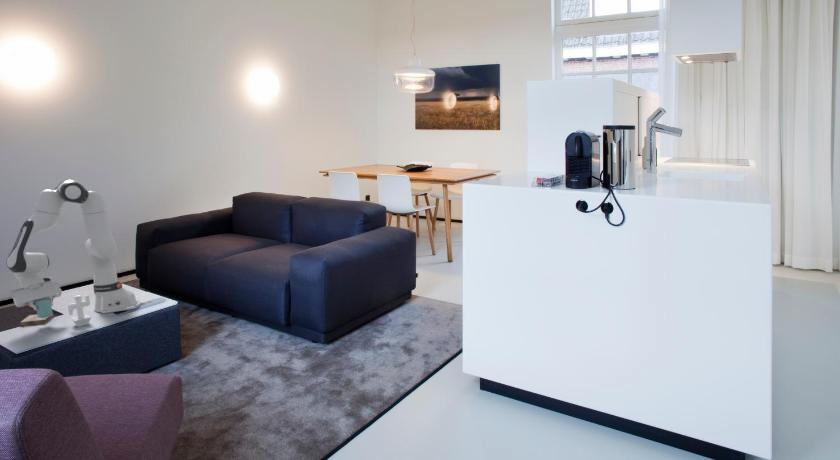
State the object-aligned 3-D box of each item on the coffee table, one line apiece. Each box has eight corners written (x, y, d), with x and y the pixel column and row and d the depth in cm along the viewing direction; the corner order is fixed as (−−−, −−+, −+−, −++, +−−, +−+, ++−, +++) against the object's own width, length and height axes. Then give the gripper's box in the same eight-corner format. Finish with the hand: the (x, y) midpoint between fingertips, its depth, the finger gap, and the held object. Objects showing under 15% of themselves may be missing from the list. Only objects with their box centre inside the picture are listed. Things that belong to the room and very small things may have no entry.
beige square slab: (53, 316, 294) (53, 312, 294) (45, 323, 284) (45, 319, 283) (30, 318, 292) (29, 315, 291) (20, 325, 281) (20, 322, 281)
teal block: (48, 313, 284) (45, 298, 282) (53, 315, 281) (50, 300, 279) (37, 316, 280) (34, 301, 278) (41, 318, 277) (38, 303, 275)
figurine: (69, 325, 279) (64, 296, 277) (90, 320, 286) (86, 292, 283) (72, 328, 274) (68, 299, 272) (94, 323, 281) (90, 294, 278)
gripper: (9, 287, 273) (21, 310, 269) (55, 276, 289) (67, 297, 285) (7, 295, 276) (19, 317, 273) (53, 284, 292) (65, 304, 289)
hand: (44, 307), depth 279 cm, fingers closed on teal block, 5 cm apart
